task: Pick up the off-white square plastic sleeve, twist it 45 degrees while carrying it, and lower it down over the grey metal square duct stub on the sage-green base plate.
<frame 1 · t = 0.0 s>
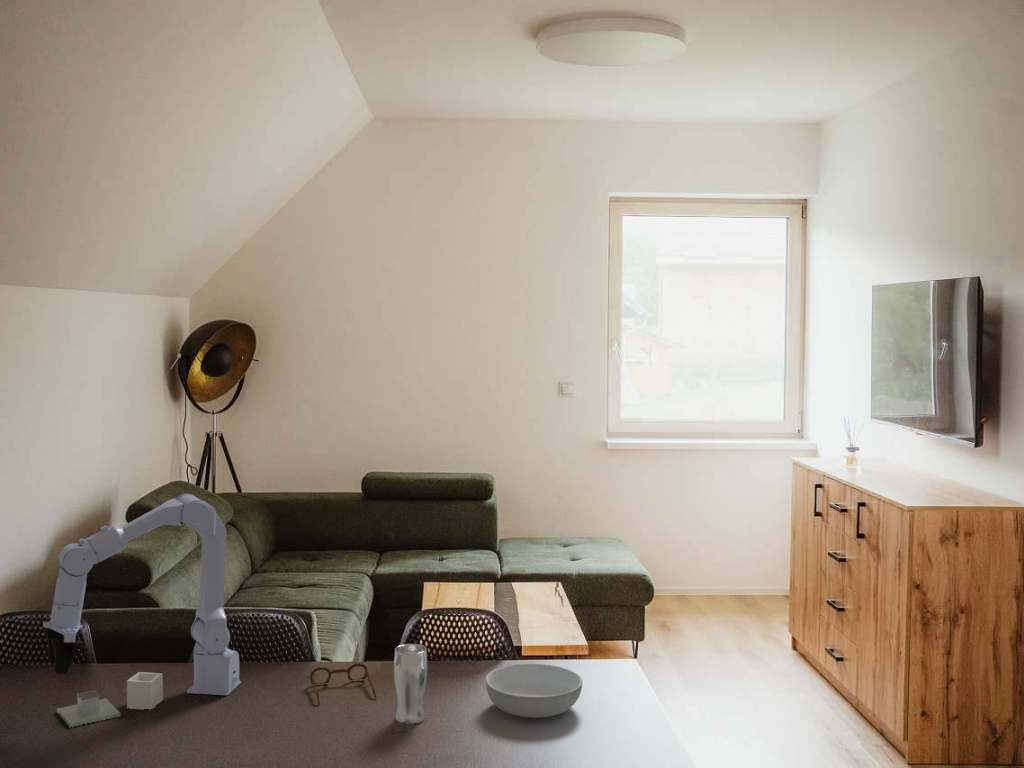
hand: (57, 667, 210), 11 cm above the table, tool pointing down, fingers open, 7 cm apart
glasses: (343, 696, 226), on the table
duct stub: (88, 714, 212), on the table
serving bowl: (533, 710, 218), on the table
sleeve: (145, 704, 218), on the table
beer glass: (410, 719, 212), on the table
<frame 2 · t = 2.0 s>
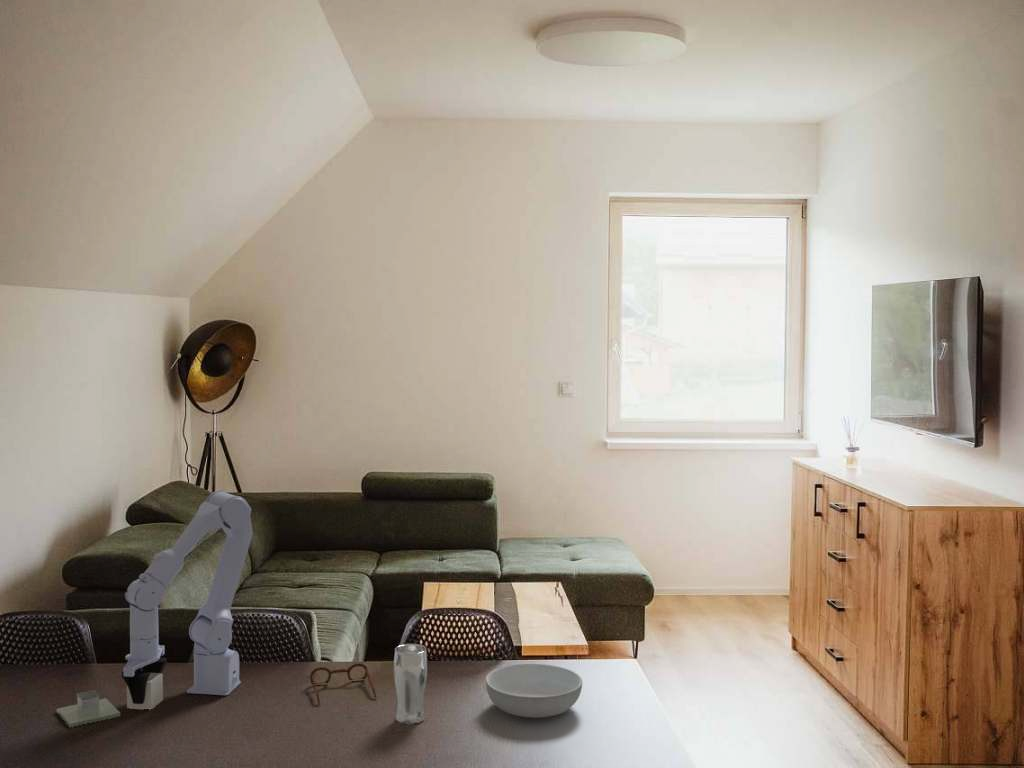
hand: (145, 697, 218), 1 cm above the table, tool pointing down, fingers closed on sleeve, 5 cm apart
sleeve: (145, 704, 218), on the table, touching gripper
everything else where it was.
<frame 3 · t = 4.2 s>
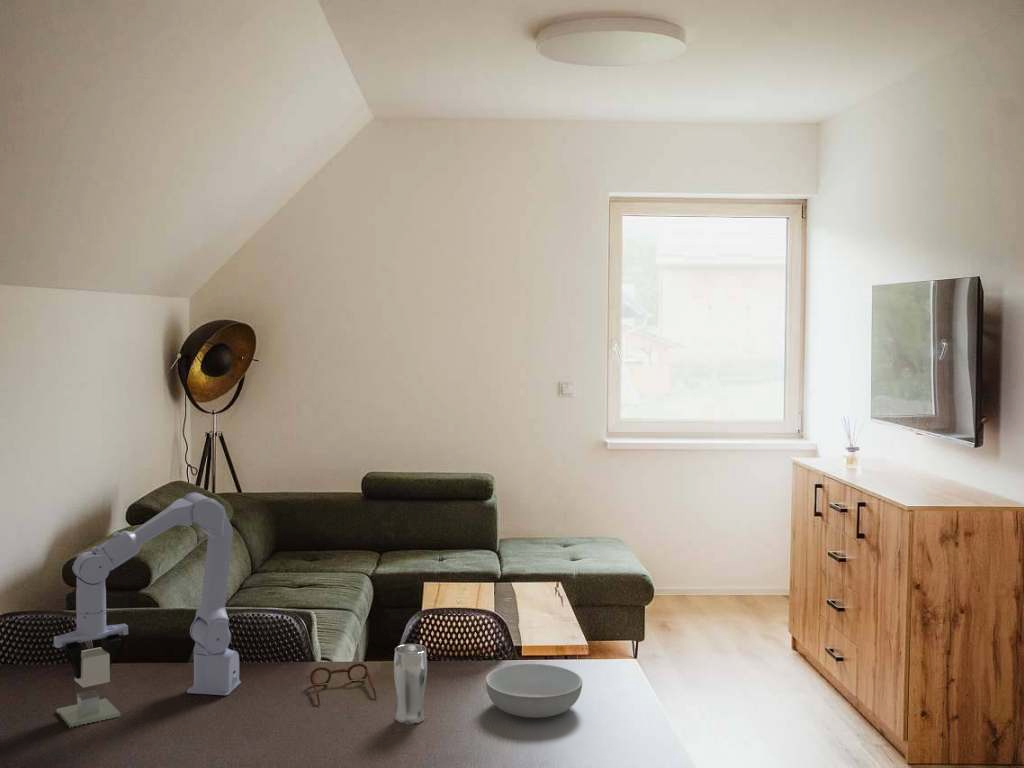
hand: (92, 674, 212), 8 cm above the table, tool pointing down, fingers closed on sleeve, 5 cm apart
sleeve: (92, 681, 212), point 7 cm above the table, touching gripper
everything else where it was.
when the fingers open (3 cm above the table, at t = 6.6 s): sleeve stays where it is, resting on duct stub.
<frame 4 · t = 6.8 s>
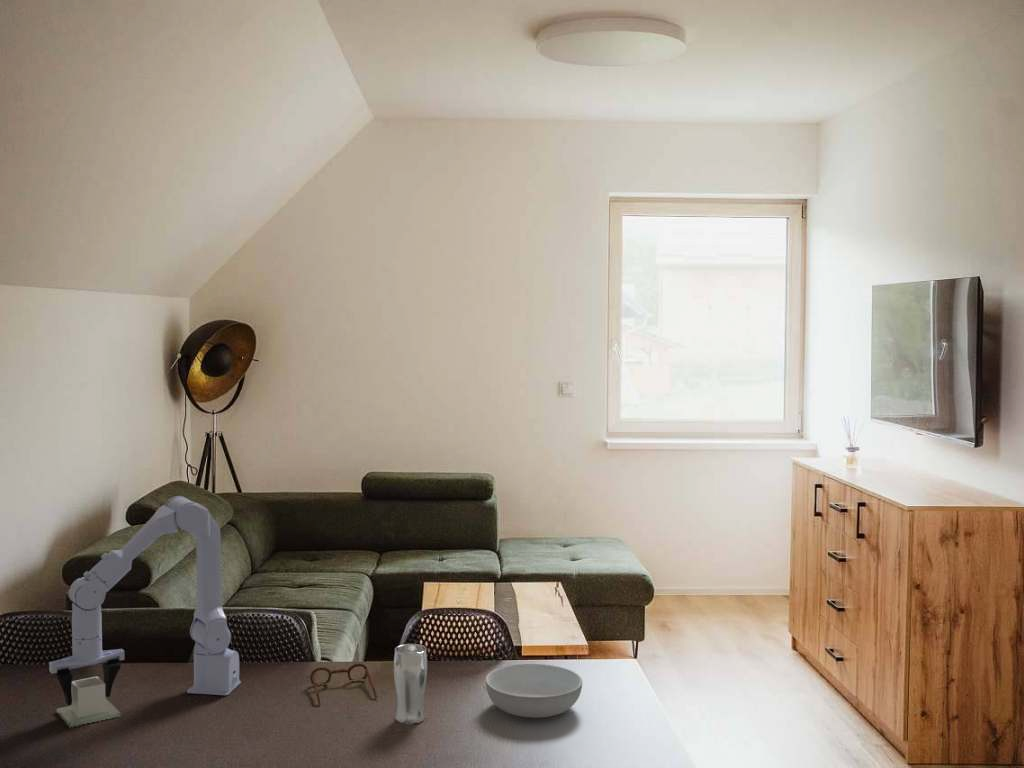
hand: (88, 699, 212), 3 cm above the table, tool pointing down, fingers open, 7 cm apart
sleeve: (88, 710, 212), point 1 cm above the table, touching duct stub
everything else where it was.
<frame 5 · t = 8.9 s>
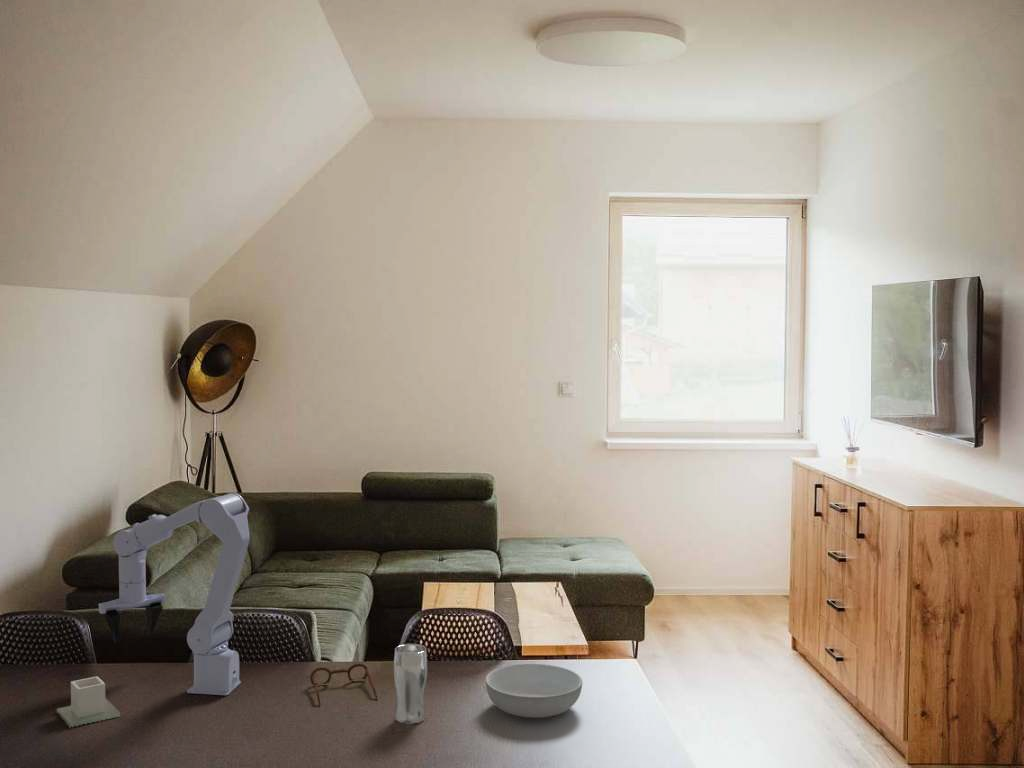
hand: (133, 638, 233), 9 cm above the table, tool pointing down, fingers open, 7 cm apart
nothing on the table moved.
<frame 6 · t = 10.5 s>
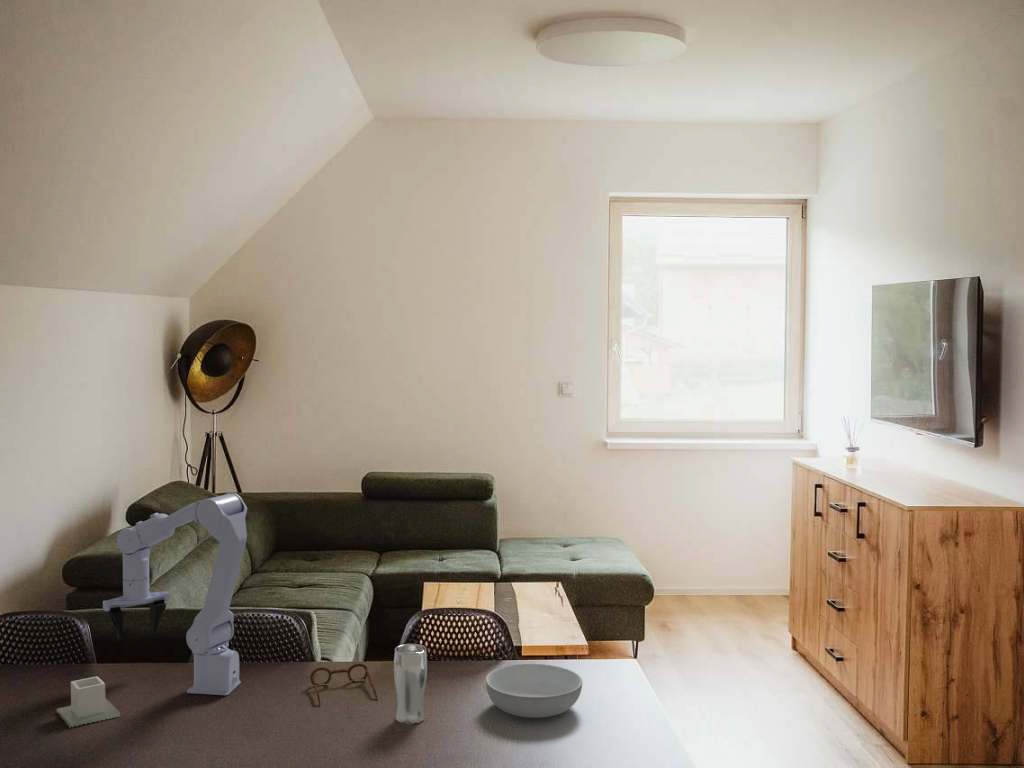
hand: (136, 636, 235), 9 cm above the table, tool pointing down, fingers open, 7 cm apart
nothing on the table moved.
at the end: sleeve 0.0 cm off-centre on the duct stub, point 0.8 cm above the duct stub's base; sleeve tilted 0°; the gripper is holding nothing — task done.
